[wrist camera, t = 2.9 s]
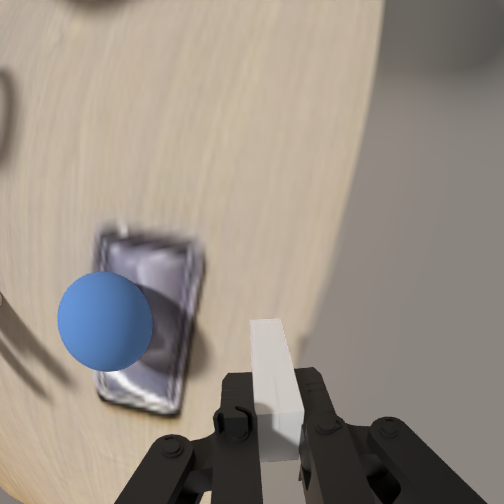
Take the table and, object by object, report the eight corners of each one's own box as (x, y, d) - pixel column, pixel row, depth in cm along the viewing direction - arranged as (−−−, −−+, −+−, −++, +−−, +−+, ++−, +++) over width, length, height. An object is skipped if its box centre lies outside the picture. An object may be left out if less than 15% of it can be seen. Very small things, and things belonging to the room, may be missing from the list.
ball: (157, 258, 18) (121, 295, 12) (169, 341, 20) (146, 397, 14) (77, 260, 18) (27, 292, 12) (95, 337, 19) (58, 384, 14)
